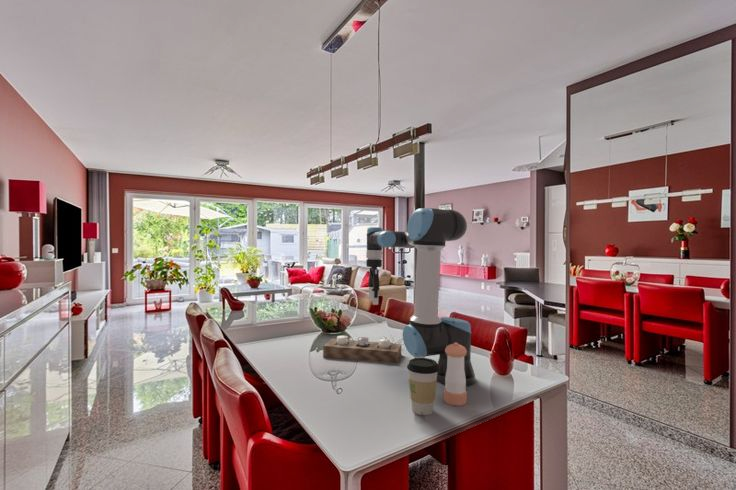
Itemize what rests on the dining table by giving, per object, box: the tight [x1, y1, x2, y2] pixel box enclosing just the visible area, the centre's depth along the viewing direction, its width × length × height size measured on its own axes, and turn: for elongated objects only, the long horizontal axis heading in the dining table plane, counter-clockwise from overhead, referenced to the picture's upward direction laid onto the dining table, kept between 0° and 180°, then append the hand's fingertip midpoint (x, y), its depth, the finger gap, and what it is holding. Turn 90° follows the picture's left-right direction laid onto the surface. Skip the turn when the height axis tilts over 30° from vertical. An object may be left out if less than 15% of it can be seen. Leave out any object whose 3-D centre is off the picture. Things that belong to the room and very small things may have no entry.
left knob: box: [336, 335, 349, 346], centre depth 168 cm, size 5×5×5 cm
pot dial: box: [357, 336, 369, 347], centre depth 166 cm, size 5×5×5 cm
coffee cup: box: [406, 357, 439, 416], centre depth 111 cm, size 10×10×15 cm
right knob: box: [378, 338, 391, 349], centre depth 163 cm, size 5×5×5 cm
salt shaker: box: [443, 342, 468, 406], centre depth 118 cm, size 7×7×19 cm
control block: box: [322, 338, 402, 364], centre depth 166 cm, size 34×13×5 cm, turn 77°
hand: (373, 302), depth 175 cm, fingers open, 13 cm apart
